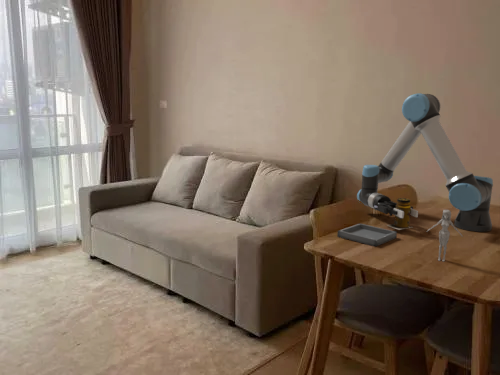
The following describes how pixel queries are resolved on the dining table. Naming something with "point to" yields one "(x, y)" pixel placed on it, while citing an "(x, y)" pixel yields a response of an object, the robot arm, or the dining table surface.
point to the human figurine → (444, 231)
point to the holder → (367, 234)
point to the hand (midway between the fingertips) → (409, 214)
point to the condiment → (404, 206)
